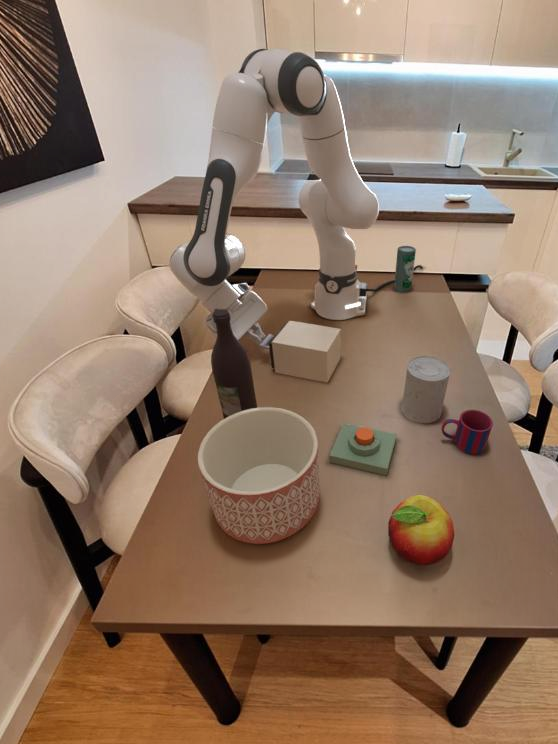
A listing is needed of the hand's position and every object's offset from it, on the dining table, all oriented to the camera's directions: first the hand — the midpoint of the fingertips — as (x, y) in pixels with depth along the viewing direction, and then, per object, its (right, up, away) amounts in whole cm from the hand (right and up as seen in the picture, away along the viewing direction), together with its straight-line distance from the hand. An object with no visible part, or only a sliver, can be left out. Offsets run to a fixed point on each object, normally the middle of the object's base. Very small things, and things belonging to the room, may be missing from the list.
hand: (262, 340), depth 108 cm
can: (+43, +24, +41) cm, 64 cm away
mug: (+48, -25, -20) cm, 58 cm away
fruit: (+35, -39, -40) cm, 66 cm away
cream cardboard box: (+13, -7, +1) cm, 14 cm away
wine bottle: (+1, -23, -21) cm, 31 cm away
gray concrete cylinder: (+41, -18, -12) cm, 46 cm away
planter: (+9, -34, -34) cm, 48 cm away
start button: (+27, -23, -26) cm, 44 cm away
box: (+27, -26, -24) cm, 44 cm away
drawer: (+9, -5, +1) cm, 10 cm away
